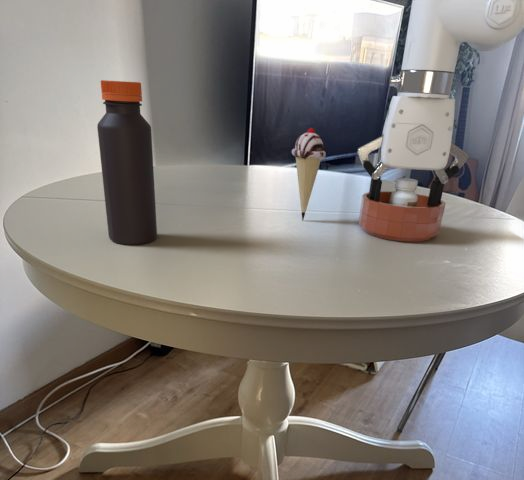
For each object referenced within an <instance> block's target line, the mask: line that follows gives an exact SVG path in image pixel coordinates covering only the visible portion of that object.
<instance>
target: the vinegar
mask: <svg viewBox="0 0 524 480" xmlns="http://www.w3.org/2000/svg"><path fill="white" fill-rule="evenodd" d="M100 89H101V91H100V92H101V100H103V102H102V104H103V105H105V114H104V115H103V116H102V118H101V119H100V120H99V121H98V123H97V136H98V146H99V156H100V166H101V167H100V168H101V174H102V185H103V194H104V203H105V205H104V206H105V214H106V225H107V232H108V238H109V240H110V241H111V242H113V243H115V244H120V245H125V246H126V245H129V246H131V245H132V246H134V245H144V244H149V243H152V242H154V241H155V240H156V239H157V236H158V227H157V210H156V209H157V208H156V190H155V189H156V188H155V175H154V174H155V173H154V156H153V155H154V153H153V137H152V135H153V134H152V127H151V124H150V123H149V122H148V120H146V119H145V118H144V116H143V115H142V114H141V107H142V106H143V104H142V103H141V102H143V94H142V93H143V92H142V91H143V90H142V83H141V82H139V81H124V80H123V81H122V80H121V81H120V80H107V79H105V80H104V79H101V80H100Z"/></svg>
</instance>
